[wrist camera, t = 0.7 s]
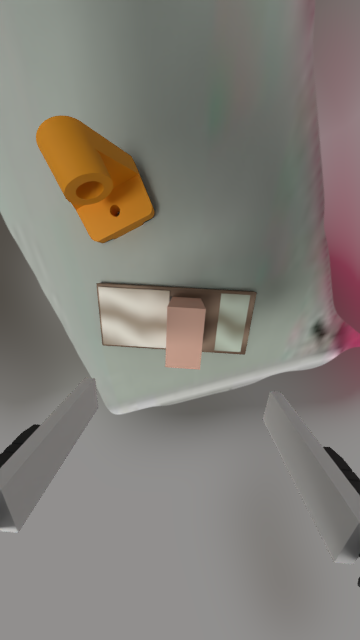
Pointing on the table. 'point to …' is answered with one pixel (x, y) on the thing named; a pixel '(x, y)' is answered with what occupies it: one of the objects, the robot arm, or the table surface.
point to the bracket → (94, 178)
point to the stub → (184, 332)
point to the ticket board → (151, 316)
